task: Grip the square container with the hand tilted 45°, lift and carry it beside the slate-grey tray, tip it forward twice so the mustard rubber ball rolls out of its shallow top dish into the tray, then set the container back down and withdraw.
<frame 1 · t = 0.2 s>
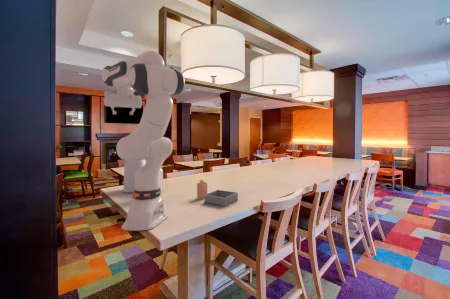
hand: (123, 114, 137), 52 cm above the table, tool tilted 20°, fingers open, 8 cm apart
ball: (202, 181, 143), point 10 cm above the table, touching square container
square container: (202, 198, 143), on the table, touching ball
milk carton: (156, 192, 159), on the table
tray: (221, 201, 136), on the table
plastic bottle: (136, 190, 164), on the table
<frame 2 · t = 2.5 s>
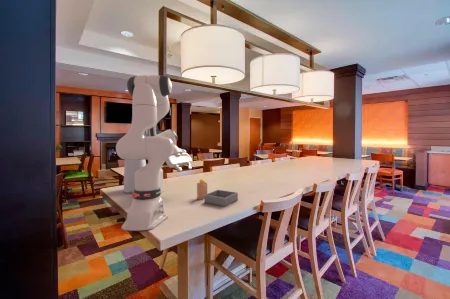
hand: (185, 169, 149), 17 cm above the table, tool tilted 45°, fingers open, 8 cm apart
nothing on the table moved.
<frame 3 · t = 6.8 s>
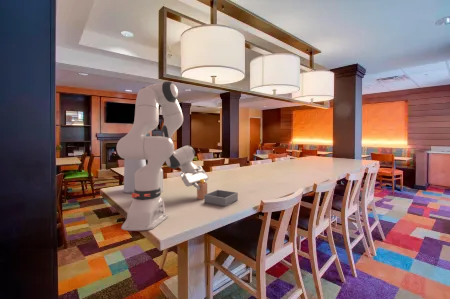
hand: (203, 188, 143), 6 cm above the table, tool tilted 45°, fingers closed on square container, 4 cm apart
ball: (202, 181, 143), point 10 cm above the table, tilted 30°, touching square container
square container: (202, 198, 143), on the table, touching ball, gripper
everything else where it was.
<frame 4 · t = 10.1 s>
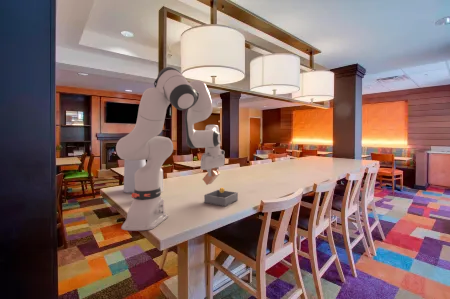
hand: (213, 175, 137), 15 cm above the table, tool pointing down, fingers closed on square container, 4 cm apart
ball: (221, 190, 133), point 7 cm above the table, tilted 81°
square container: (206, 181, 140), point 11 cm above the table, tilted 44°, touching gripper
everything else where it was.
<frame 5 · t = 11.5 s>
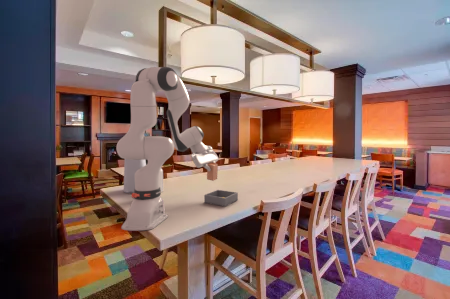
hand: (213, 169, 139), 18 cm above the table, tool tilted 40°, fingers closed on square container, 4 cm apart
ball: (223, 199, 132), point 2 cm above the table, tilted 33°, touching tray
square container: (212, 179, 141), point 12 cm above the table, tilted 7°, touching gripper
everything else where it was.
when the fingers open (7 cm above the table, at t = 16.4 s): square container drops 2 cm, on the table.
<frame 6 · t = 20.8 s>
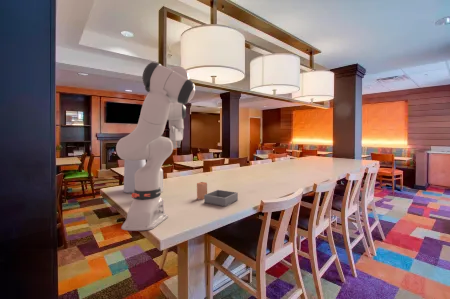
hand: (176, 148, 145), 31 cm above the table, tool pointing down, fingers open, 8 cm apart
ball: (213, 199, 134), point 2 cm above the table, tilted 106°, touching tray
square container: (202, 198, 143), on the table
everything else where it was.
at the end: ball 5.2 cm from the tray (horizontally); ball point 2.1 cm above the table; square container tilted 0° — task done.
